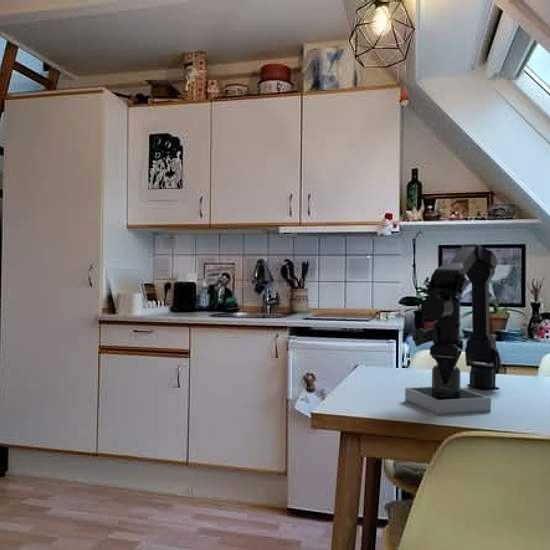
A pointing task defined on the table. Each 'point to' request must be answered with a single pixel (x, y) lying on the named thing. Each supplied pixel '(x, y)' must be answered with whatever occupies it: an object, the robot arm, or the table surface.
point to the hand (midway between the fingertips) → (446, 380)
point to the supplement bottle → (445, 390)
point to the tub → (447, 401)
